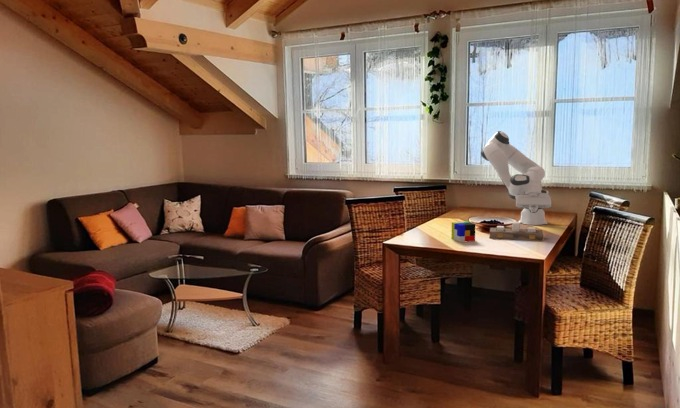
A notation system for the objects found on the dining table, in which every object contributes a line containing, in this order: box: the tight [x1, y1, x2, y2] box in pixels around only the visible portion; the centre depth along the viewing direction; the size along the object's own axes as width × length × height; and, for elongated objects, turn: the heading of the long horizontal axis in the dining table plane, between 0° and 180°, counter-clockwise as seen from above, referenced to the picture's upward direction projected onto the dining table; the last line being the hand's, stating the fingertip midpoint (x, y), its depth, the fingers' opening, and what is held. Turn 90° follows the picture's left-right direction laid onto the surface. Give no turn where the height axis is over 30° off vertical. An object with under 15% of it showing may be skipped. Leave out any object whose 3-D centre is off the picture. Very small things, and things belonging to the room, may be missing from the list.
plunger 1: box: [496, 225, 505, 231], centre depth 312 cm, size 4×4×6 cm
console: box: [489, 227, 544, 242], centre depth 310 cm, size 12×30×4 cm, turn 73°
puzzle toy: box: [451, 220, 476, 243], centre depth 305 cm, size 10×10×10 cm
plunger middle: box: [511, 221, 521, 232], centre depth 309 cm, size 4×4×6 cm
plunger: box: [527, 226, 537, 232], centre depth 307 cm, size 4×4×6 cm
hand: (533, 212), depth 307 cm, fingers closed
